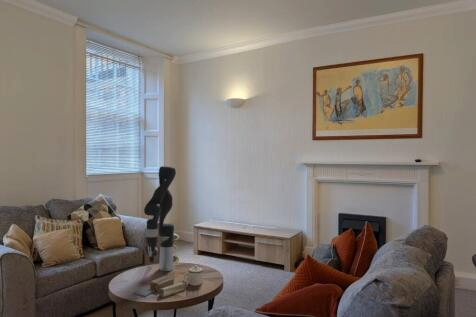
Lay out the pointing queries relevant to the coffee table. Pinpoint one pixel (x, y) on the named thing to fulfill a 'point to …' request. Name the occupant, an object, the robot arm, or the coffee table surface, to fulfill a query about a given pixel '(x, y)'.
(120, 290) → the coffee table surface
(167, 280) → the tan rectangular block
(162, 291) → the cream long bar
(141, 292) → the slate coaster
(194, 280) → the teacup with lid
